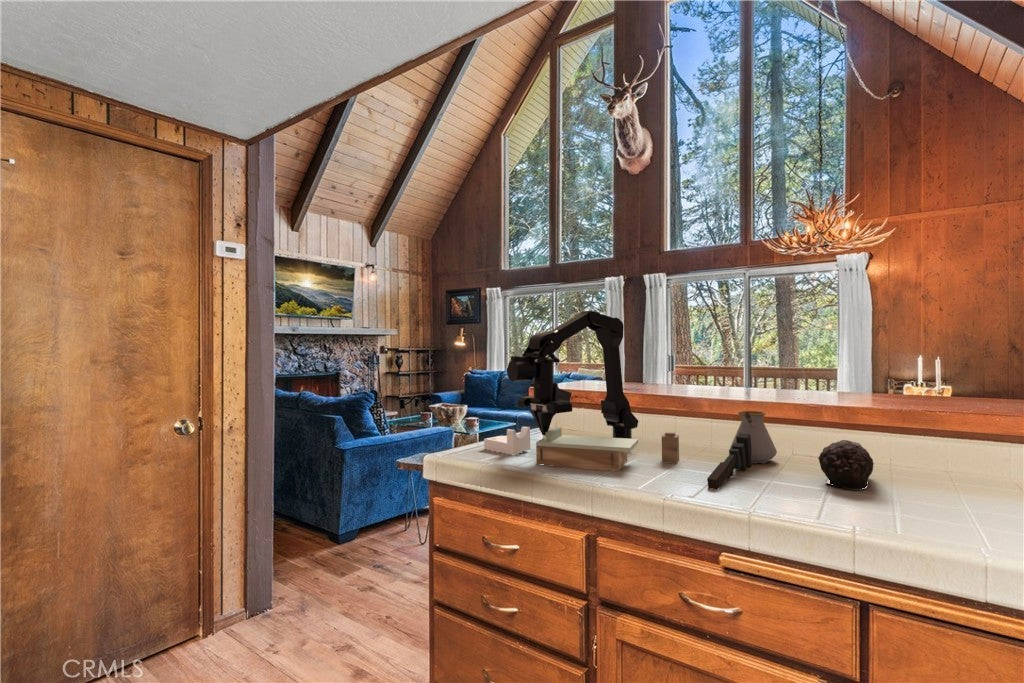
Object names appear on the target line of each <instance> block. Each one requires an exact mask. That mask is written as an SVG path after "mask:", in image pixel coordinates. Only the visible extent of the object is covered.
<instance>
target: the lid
mask: <svg viewBox="0 0 1024 683" xmlns="http://www.w3.org/2000/svg"><path fill="white" fill-rule="evenodd" d="M562 433H563V432H562V427H560V426H559V427H554V428H551V429H549V430H548V432H546V435H545V436H544V437H543V438H540V439H539V440H537V441H536V442H535V445H536V446H546V447H562V448H577V449H593V450H608V451H624V452H627V453H630V452H632V450H633V449H634V448H635V447H636V446H637V445H638V443H639V438H632V439H627V438H613V437H607V436H606V437H604V436H589V435H588V436H587V435H569V434H562ZM536 446H535V447H536Z"/></svg>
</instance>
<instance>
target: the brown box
mask: <svg viewBox="0 0 1024 683" xmlns="http://www.w3.org/2000/svg"><path fill="white" fill-rule="evenodd" d="M535 447H536V448H535V450H536V451H535V452H536V453H535V454H536V456H535V457H536V465H537V464H544V465H543V466H545V465H553V466H552V467H558V466H561V467H560V468H570V467H573V468H574V469H585V470H596V469H598V470H599V471H608V470H612V471H611V472H619V471H620V470H621V469H622V468H623V467H624V466H625V464H626V463H627V462H628V452H624V451H608V450H593V449H577V448H562V447H546V446H535ZM622 466H623V467H622ZM621 467H622V468H621ZM620 468H621V469H620ZM613 470H614V471H613Z"/></svg>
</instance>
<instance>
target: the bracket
mask: <svg viewBox="0 0 1024 683" xmlns="http://www.w3.org/2000/svg"><path fill="white" fill-rule="evenodd" d="M483 442H484V450H485V449H487V450H486V451H489V450H491V451H490V452H494V451H496V453H499V452H502V453H501V454H503V453H507V454H506V455H508V454H513V455H514V454H518V455H520V454H519V453H522V454H523V452H527V451H530V450H531V427H530V426H521V429H520V433H519V434H518V435H517V433H516V430H515V429H509V428H508V429H506V435H497V436H492V437H487V438H484V439H483ZM513 455H512V456H513ZM514 456H515V455H514Z"/></svg>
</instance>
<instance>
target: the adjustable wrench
mask: <svg viewBox="0 0 1024 683" xmlns="http://www.w3.org/2000/svg"><path fill="white" fill-rule="evenodd" d="M736 441H737V443H734V444H733V445H732V449H730V448H729V450H728V453H729V454H728V455H727V457H726V458H725V460H724V461H720V463H718V465H717V466H716V467H715V469H713V471H712V472H711V474H710V475H709V476H708V477H707V479H706V480H707V481H706V482H707V488H708V489H710V488H713V489H712V490H719V489H720V488H719V487H722V485H723V484H724V482H725V481H726V480H727V479H730V478H731V477H733V475H734V473H735V472H734V470H736V469H738V470H737V471H741V470H744V472H746V471H747V469H749V468H750V469H751V468H752V463H751V454H752V449H751V437H750V434H742V433H739V434H738V435H737V436H736ZM745 470H746V471H745ZM718 488H719V489H718Z"/></svg>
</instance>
